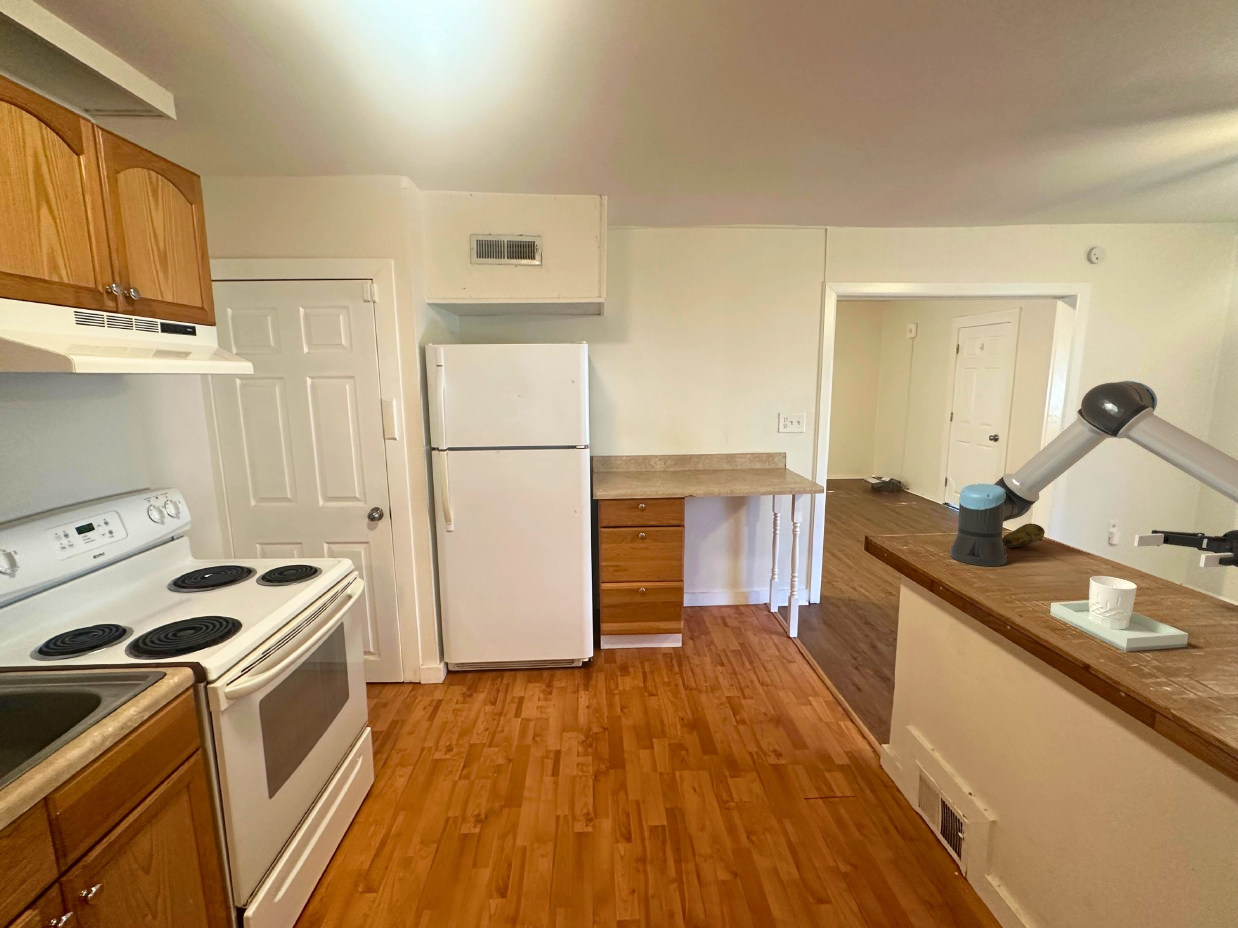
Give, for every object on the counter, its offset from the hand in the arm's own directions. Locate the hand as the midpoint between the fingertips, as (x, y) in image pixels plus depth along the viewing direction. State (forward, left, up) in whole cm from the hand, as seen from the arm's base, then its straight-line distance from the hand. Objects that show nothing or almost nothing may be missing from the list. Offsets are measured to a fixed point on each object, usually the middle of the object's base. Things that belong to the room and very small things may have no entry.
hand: (1167, 550), depth 119 cm
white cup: (-1, -12, -17) cm, 21 cm away
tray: (+1, -12, -18) cm, 22 cm away
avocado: (-55, +15, -18) cm, 60 cm away
